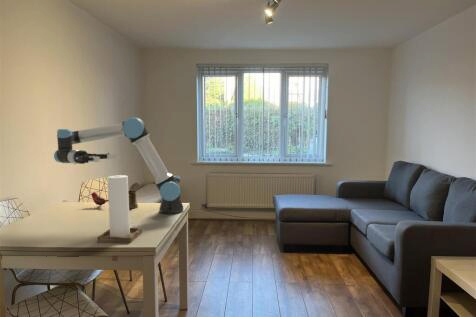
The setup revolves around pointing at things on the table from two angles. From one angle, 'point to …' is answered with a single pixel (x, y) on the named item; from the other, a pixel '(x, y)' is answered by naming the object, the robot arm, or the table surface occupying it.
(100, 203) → the decorative bird figurine
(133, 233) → the walnut stand tray
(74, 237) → the table surface
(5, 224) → the table surface
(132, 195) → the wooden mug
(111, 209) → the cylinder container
